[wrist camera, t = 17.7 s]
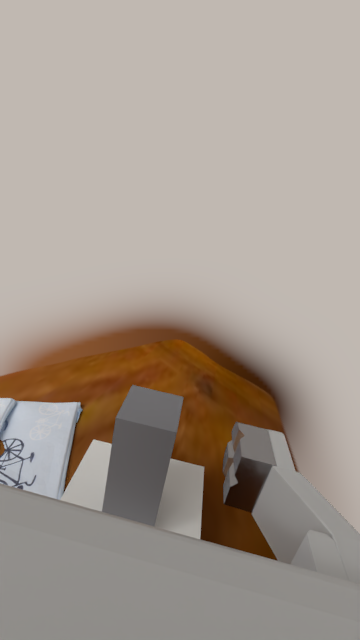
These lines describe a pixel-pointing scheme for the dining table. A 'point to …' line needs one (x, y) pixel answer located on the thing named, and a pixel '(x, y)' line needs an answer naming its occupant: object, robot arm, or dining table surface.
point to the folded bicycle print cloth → (36, 444)
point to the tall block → (141, 454)
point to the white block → (177, 497)
